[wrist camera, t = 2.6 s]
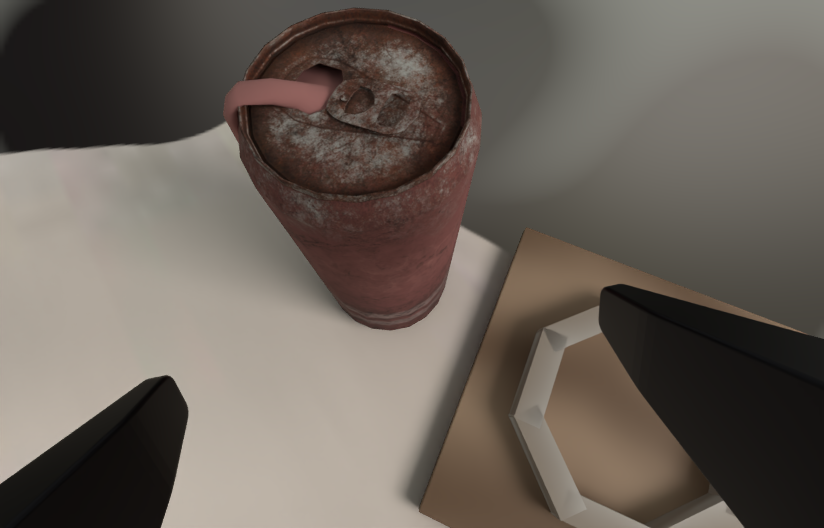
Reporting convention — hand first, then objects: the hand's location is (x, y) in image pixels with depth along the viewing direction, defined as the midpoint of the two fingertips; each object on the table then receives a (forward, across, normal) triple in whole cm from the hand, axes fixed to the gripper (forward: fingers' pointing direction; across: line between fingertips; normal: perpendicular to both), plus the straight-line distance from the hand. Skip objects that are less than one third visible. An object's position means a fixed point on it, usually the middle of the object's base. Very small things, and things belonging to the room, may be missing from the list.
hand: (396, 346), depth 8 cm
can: (+13, 0, +5) cm, 14 cm away
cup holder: (+6, -10, +12) cm, 17 cm away
